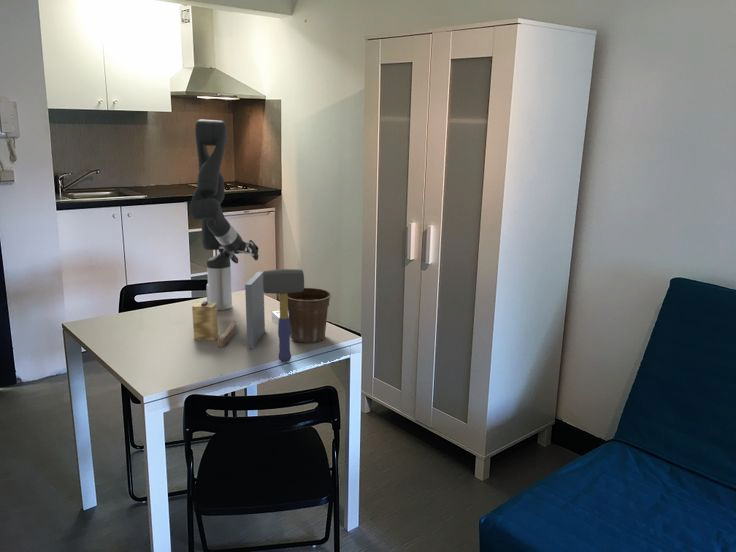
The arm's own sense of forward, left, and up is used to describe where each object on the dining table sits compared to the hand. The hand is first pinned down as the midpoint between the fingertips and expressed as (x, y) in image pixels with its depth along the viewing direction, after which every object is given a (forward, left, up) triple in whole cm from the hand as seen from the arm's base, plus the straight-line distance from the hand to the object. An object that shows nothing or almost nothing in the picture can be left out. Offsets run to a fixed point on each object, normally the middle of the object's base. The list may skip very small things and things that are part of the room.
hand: (247, 260), depth 235 cm
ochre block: (+9, -30, -21) cm, 38 cm away
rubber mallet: (+46, -32, -21) cm, 60 cm away
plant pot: (+38, -10, -22) cm, 45 cm away
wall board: (+20, -24, -21) cm, 38 cm away
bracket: (+21, -2, -22) cm, 30 cm away
